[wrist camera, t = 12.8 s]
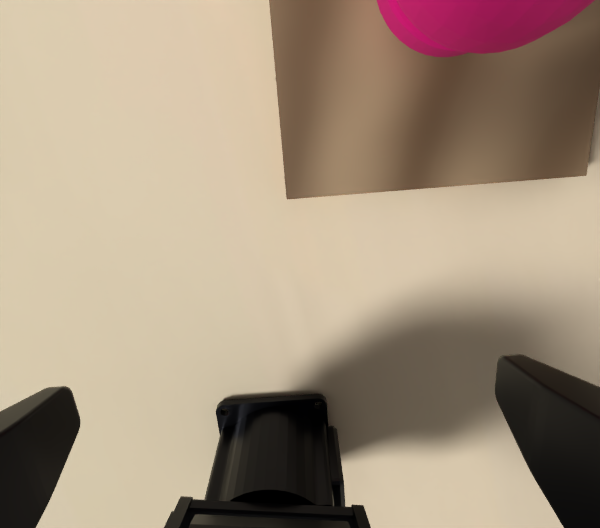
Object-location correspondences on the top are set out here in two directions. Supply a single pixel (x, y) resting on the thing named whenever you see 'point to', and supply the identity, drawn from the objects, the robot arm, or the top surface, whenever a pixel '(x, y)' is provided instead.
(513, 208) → the top surface
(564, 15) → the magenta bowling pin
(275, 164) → the top surface
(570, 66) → the taupe cutting board
